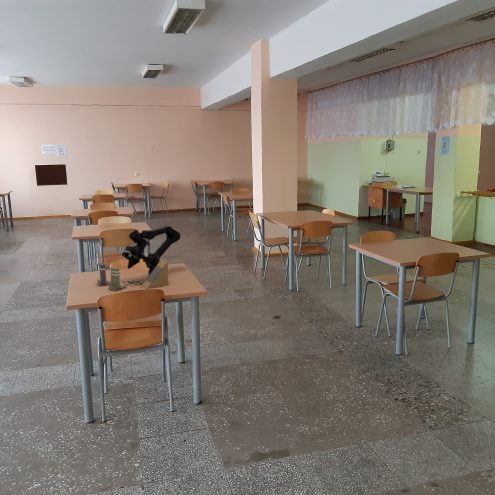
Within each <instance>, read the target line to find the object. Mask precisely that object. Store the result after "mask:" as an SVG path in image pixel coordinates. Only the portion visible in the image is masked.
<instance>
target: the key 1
mask: <svg viewBox="0 0 495 495" xmlns="http://www.w3.org/2000/svg"><path fill="white" fill-rule="evenodd" d="M98 266H99V267H98V269H99V277H100V278H99V280H100V281H101V283H102V284H107V283H106V281H107V273H106V271H107V270H106V264H105V263H103V262H100V263H98Z"/></svg>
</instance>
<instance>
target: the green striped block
mask: <svg viewBox="0 0 495 495" xmlns="http://www.w3.org/2000/svg"><path fill="white" fill-rule="evenodd" d="M109 269H110V270H109V272H110V281H111V285H113V286H116V288H117V289H118V288H120V285H121V276H120V268H119V267H109Z"/></svg>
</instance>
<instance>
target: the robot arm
mask: <svg viewBox="0 0 495 495" xmlns="http://www.w3.org/2000/svg"><path fill="white" fill-rule="evenodd" d="M164 234H165V235H166V237H165V238H166V239H165V240H164V241H163V242H162V244H160V246H159V247H158V248H157V249H156V250H155V252H154V253H151V252H150V253H148V254H147V256H146V255H145V254H144V253H145V252H146V251H145V249H146V247H147V246H150V245H151V243H150V241H151V240H153V239H155V238H156V237H157V236H159V235H160V236H161V235H164ZM128 238H129V239H130V240H131V241H132V242H133V243H134V244H136V245H132V246H131V245H126V246H125V251H123V252H122V254H121V256H122V257H124V258H125V259H126V260H128V263H127V269H128V270H130V269H131V268H133V267H134V266H136V265H137V264H140V262H141V260H142V263H145V266H146V269H147V268H148V270H147V273H148V276H149V275H150V274H151V272H152V271H153V270H154V269H155V267H156V266H157V265H158V263H159V262H160V261H161V257H162V256H163V255H164V254H165V253H166V251H167V250H169V249H170V247H171V246H172V245H173V244H175V243H177V242H178V241H179V240H180V239H181V233H180V232H178V231H177V230H176V229H174V228H173V227H172V226H170V225H165V226H162V227H157V228H155V229H145V230H141V232H139V230H137V229H135V230H132V232H131V233H129V234H128ZM149 240H150V241H149ZM148 276H147V277H148Z"/></svg>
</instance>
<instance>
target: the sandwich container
mask: <svg viewBox="0 0 495 495" xmlns="http://www.w3.org/2000/svg"><path fill="white" fill-rule="evenodd" d="M168 267H169V265H168V262H167V260H163V259H160V261H159V263H158V265H157V266H156V267H155V269H154V270H153V271H152V272H151V274H150V275H149V276H147V277H146V278H145V280H144V281H143V282H142V284H141V285H140V287H141V288H143V289H144V290H150V289H155V288H160V287H165V285H166V286H169V270H168Z"/></svg>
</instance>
